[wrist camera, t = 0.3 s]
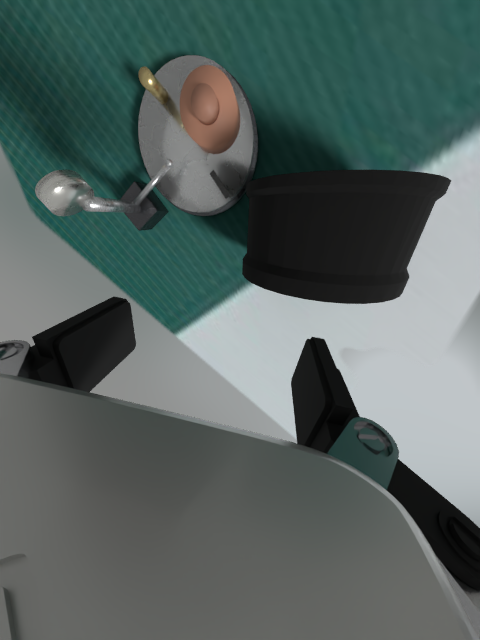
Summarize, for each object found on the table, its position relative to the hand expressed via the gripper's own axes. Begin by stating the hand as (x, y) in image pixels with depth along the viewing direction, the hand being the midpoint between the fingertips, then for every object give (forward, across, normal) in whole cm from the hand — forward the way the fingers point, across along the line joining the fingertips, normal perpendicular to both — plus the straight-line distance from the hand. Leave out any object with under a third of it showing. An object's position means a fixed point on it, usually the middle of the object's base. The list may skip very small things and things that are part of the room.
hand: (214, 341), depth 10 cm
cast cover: (+27, +9, -16) cm, 33 cm away
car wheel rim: (+30, -8, -5) cm, 32 cm away
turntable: (+28, +11, -14) cm, 33 cm away
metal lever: (+30, +18, -7) cm, 36 cm away
